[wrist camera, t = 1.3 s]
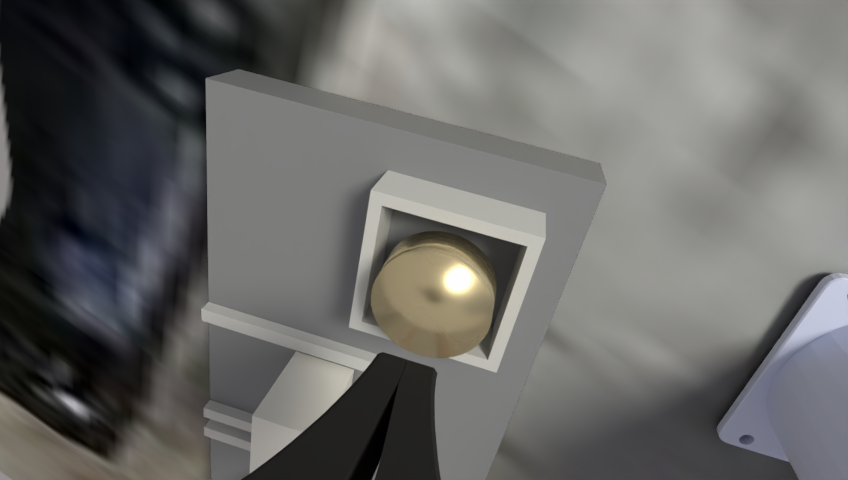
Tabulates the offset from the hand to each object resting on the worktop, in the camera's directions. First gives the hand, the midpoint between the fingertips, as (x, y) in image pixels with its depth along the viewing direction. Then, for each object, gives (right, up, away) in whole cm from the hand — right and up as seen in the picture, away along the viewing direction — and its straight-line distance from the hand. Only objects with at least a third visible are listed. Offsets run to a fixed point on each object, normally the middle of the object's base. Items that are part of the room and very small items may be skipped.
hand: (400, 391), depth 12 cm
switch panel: (-2, -2, +11) cm, 11 cm away
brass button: (+1, +2, +4) cm, 5 cm away
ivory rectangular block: (-4, -3, +10) cm, 11 cm away
